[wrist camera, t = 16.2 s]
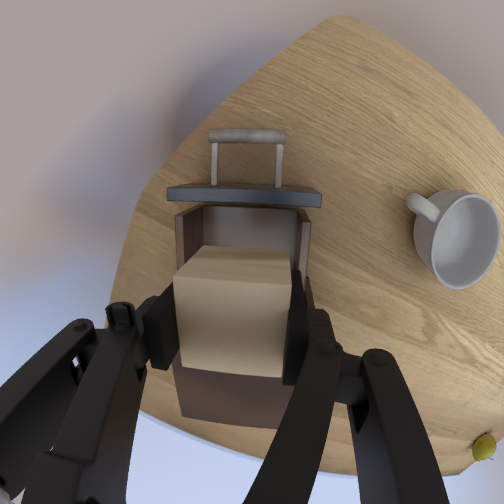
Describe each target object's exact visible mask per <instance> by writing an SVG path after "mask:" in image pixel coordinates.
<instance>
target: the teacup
mask: <svg viewBox="0 0 504 504" xmlns="http://www.w3.org/2000/svg"><path fill="white" fill-rule="evenodd" d="M406 206H407V207H408V208H409V209H411V210H412V211H413V212H414V213H415V214H416V215H417V216H416V220H415V223H414V232H413V237H414V244H415V248H416V251H417V253H418V255H419V257H420V258H421V260H422V261H423V263H424V264H425V265H426V266H427V267H428V269H429V270H430V271H431V272H432V273H433V274H434V275H435V276H436V278H437V279H438V280H439V281H440V282H441V283H442V284H443V285H444V286H446V287H447V288H450V289H455V290H460V289H465V288H468V287H470V286H472V285H474V284H475V283H477V282H478V281H479V280H480V279H481V278H482V277H483V276H484V275H485V274H486V273H487V272H488V271H489V269H490V268H491V267H492V264H493V262H494V260H495V258H496V256H497V253H498V250H499V246H500V240H501V226H500V220H499V216H498V213H497V211H496V209H495V207H494V205H493V204H492V203H491V201H489V200H488V199H487V198H485V197H484V196H482V195H479V194H472V193H469V192H466V191H462V190H456V189H445V190H441V191H438V192H436V193H434V194H433V195H431V196H430V197H429V198H428V199H426V198H424V197H422V196H421V195H419V194H417V193H410V194H409V195H408V197H407V200H406Z"/></svg>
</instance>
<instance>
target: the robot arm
mask: <svg viewBox="0 0 504 504" xmlns="http://www.w3.org/2000/svg"><path fill="white" fill-rule="evenodd" d="M291 282H292V289H291V299H290V308H289V311H288V320H287V330H286V339H285V348H284V356H283V380H282V385H285V386H295V387H294V390H293V393H292V395H291V398H290V400H289V403H288V405H287V408H286V411H285V413H284V415H283V418H282V420H281V423H280V425H279V428H278V430H277V432H276V435H275V437H274V439H273V442H272V444H271V446H270V448H269V451H268V453H267V455H266V457H265V459H264V462H263V464H262V466H261V468H260V470H259V472H258V474H257V477H256V478H255V481H254V483H253V485H252V486H251V488H250V490H249V492H248V494H247V496H246V498H245V500H244V502H243V503H242V504H308V501H309V497H310V495H311V491H312V488H313V485H314V482H315V478H316V475H317V472H318V468H319V465H320V461H321V457H322V454H323V450H324V446H325V442H326V438H327V434H328V429H329V425H330V421H331V416H332V411H333V406H334V402H339V403H343V404H347V410H348V415H349V421H350V427H351V433H352V440H353V446H354V453H355V460H356V467H357V475H358V483H359V492H360V501H361V504H449V500H448V496H447V493H446V489H445V486H444V482H443V479H442V476H441V473H440V470H439V467H438V464H437V461H436V458H435V455H434V452H433V449H432V446H431V444H430V441H429V438H428V435H427V433H426V430H425V428H424V425H423V422H422V420H421V417H420V415H419V412H418V410H417V408H416V405H415V403H414V400H413V398H412V396H411V393H410V391H409V389H408V386H407V384H406V382H405V380H404V377H403V375H402V373H401V371H400V369H399V366H398V364H397V362H396V360H395V358H394V357H393V355H392V354H391V353H389V352H388V351H385V350H383V349H376V348H375V349H369V350H367V351H365V352H364V354H363V356H362V357H360V356H355V355H351V354H348V353H346V352H344V351H343V348H342V346H341V345H340V344H339V343H338V342H336V340H335V336H334V332H333V328H332V325H331V321H330V317H329V314H328V313H327V312H326V311H325V310H324V309H311V308H306V302H305V296H304V289H303V282H302V276H301V270H291ZM105 310H106V314H107V319H108V323H109V326H108V328H107V329H94V325H93V322H92V321H91V320H89V319H82V318H81V319H77V320H75V321H72V322H71V323H69V324H68V325H67V326H66V327H65V328H64V329H62V330H61V331H60V332H59V333H58V334H57V335H55V336H54V337H53V338H52V339H51V340H50V341H49V342H48V343H47V344H45V345H44V346H43V347H42V348H41V349H40V350H39V351H38V352H37V353H35V354H34V355H33V357H31V358H30V359H29V360H28V361H27V362H26V363H25V364H24V365H23V366H22V367H21V368H20V369H18V370H17V371H16V372H15V373H14V374H13V375H12V376H11V377H10V378H9V379H8V380H7V381H6V382H5V383H4V384H3V385H2V386H1V387H0V504H14V503H13V502H12V501H11V500H13V499H14V498H15V497H17V496H18V495H19V494H20V493H21V492H22V490H23V489H24V488H25V487H26V488H25V491H24V494H23V498H22V502H21V504H126V487H127V480H128V472H129V465H130V458H131V452H132V446H133V440H134V433H135V428H136V422H137V418H138V413H139V408H140V403H141V398H142V393H143V389H144V384H145V380H146V375H147V368H146V363H147V361H148V360H149V358H150V362H151V367H152V368H155V369H160V370H165V371H167V370H168V368H169V366H170V365H171V363H172V361H173V359H174V357H175V356H176V354H177V352H178V350H179V348H180V346H179V338H178V329H177V320H176V310H175V300H174V288H173V282H172V283H171V284H170V285H169V287H168V288H167V289H166V290H165V291H164V292H163V293H162V294H161V295H160V296H152V297H150V298H148V299H146V300H145V301H144V302H143V303H142V304H141V305H140V306H139V307H138V309H136V310H135V309H134V306H133V304H131V303H129V302H116V303H112V304H110V305H108V306H107V307H106V308H105ZM75 357H76V358H77V360H78V363H79V364H78V365H77V366H76V367H75V366H74V364H73V361H72V360H73V359H74V358H75ZM53 446H54V447H53ZM52 447H53V449H52ZM51 449H52V450H51ZM50 450H51V451H50Z"/></svg>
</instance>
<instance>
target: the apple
mask: <svg viewBox="0 0 504 504" xmlns="http://www.w3.org/2000/svg"><path fill="white" fill-rule="evenodd" d="M495 450H496V441H495V439H494V437H493V436H491V435H490V434H484V435H483V436H481V437H479V438H478V439H477V440H476V442H475V443H474V445H473V448H472V453H473V457H474V459H475V460H476V461H480V460H485V459H487V458H489V457H490V456H492V455H493V454H494V452H495Z"/></svg>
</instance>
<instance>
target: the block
mask: <svg viewBox="0 0 504 504" xmlns="http://www.w3.org/2000/svg"><path fill="white" fill-rule="evenodd" d="M173 288H174V300H175V310H176V320H177V329H178V338H179V346H180V353H181V361H182V366H183V367H189V368H196V369H202V370H209V371H217V372H225V373H233V374H243V375H253V376H266V377H281V376H282V370H283V356H284V348H285V339H286V330H287V320H288V311H289V308H290V299H291V289H292V282H291V269H290V256H289V251H288V250H274V249H257V248H240V247H223V246H206V245H204V246H202V247H201V248H200V249H199V250H198V251H197V252H196V253H195V254H194V255H193V256H192V257H191V258H190V259H189V260H188V261H187V262H186V263H185V264H184V265H183V266H182V267H181V268H180V269H179V270H178V271H177V272H176V273H175V274H174V275H173Z"/></svg>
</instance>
